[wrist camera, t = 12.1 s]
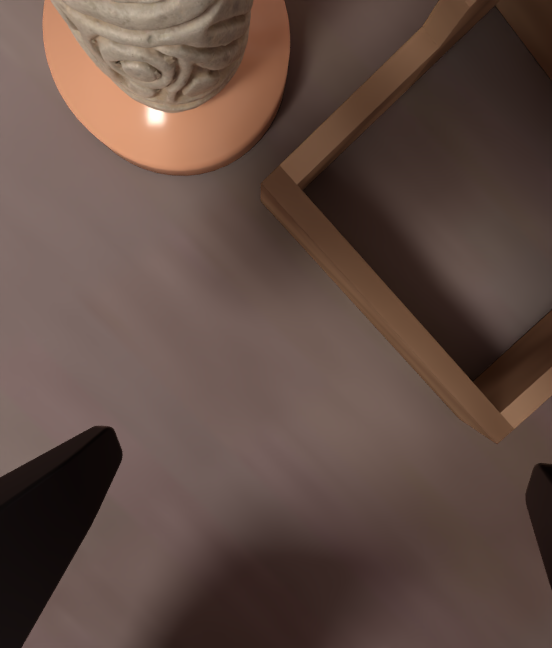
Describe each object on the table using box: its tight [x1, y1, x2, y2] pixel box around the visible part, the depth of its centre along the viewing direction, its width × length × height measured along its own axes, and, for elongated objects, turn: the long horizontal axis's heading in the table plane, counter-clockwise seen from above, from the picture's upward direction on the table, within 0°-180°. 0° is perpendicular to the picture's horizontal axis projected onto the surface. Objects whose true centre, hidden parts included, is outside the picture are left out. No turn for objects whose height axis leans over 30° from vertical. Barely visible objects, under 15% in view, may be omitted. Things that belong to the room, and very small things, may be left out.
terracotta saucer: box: [43, 0, 290, 176], centre depth 15 cm, size 10×10×2 cm
